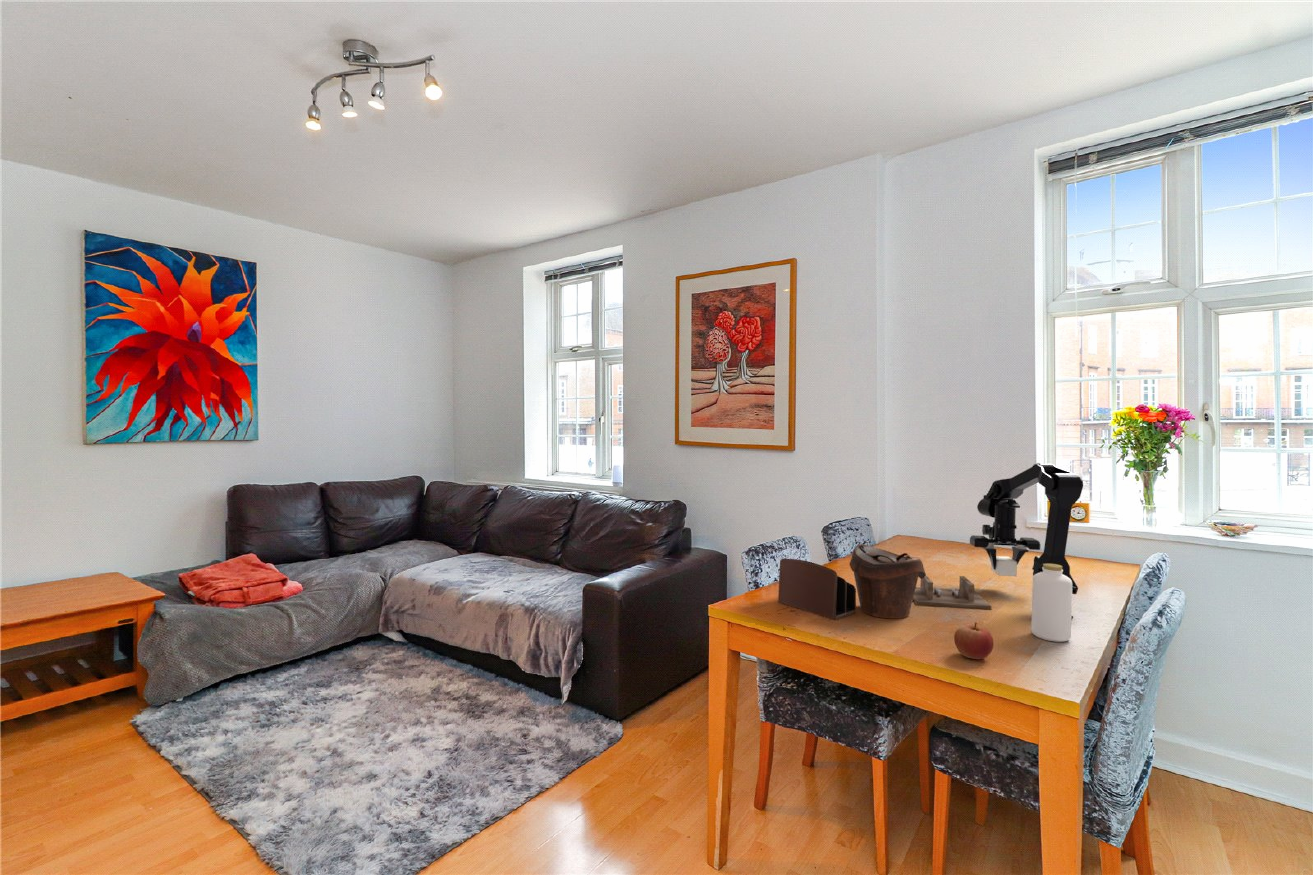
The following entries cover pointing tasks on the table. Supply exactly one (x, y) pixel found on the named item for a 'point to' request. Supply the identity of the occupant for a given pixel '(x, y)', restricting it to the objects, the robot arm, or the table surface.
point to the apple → (973, 641)
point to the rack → (949, 595)
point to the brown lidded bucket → (885, 581)
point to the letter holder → (815, 589)
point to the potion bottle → (1051, 604)
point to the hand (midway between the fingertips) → (1003, 569)
